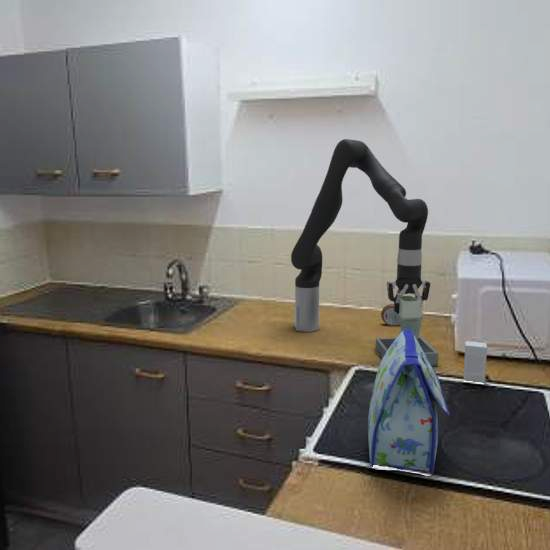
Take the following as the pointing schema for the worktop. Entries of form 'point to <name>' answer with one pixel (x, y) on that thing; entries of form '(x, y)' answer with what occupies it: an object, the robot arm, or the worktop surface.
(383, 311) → the tin
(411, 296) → the small crate
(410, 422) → the lunch bag
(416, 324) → the coffee cup
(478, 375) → the skincare box
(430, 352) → the large crate
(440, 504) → the worktop surface
